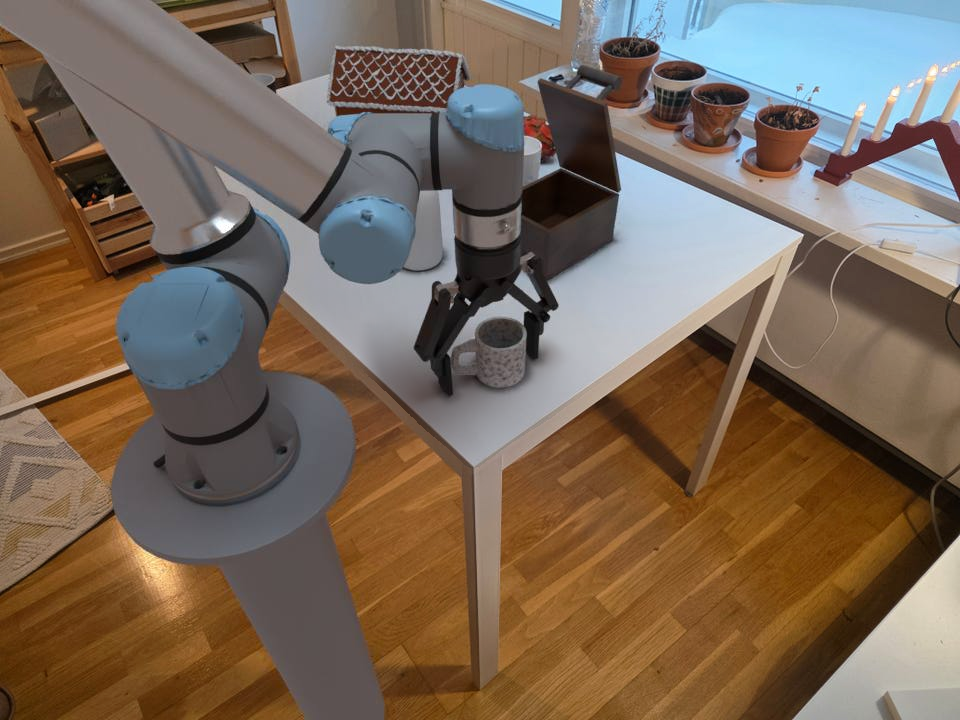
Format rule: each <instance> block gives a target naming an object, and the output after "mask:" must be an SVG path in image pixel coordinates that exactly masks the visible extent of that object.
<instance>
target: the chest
mask: <svg viewBox="0 0 960 720" xmlns="http://www.w3.org/2000/svg"><path fill="white" fill-rule="evenodd" d="M619 199H620V194H619V193H617V192H615V191H613V190H610V189H608V188H606V187H604V186H601V185H599V184H597V183H595V182H593V181H590V180H588V179H586V178H584V177H581V176H579V175H577V174H575V173H572V172H570V171H568V170H566V169H563V168H561V167H559V168H558V169H556V170H554V171H552V172H550V173H548V174H546V175H544V176H542V177H540V178H538V180H536V181H534V182H532V183H530V184H528V185H526V186H524V187H522V212H521V232H520V235H521V257H522V256H523V252H524V251H525V250H526V249H530V250H531V251H532V252H534V253H535V254H536V255H537V256H538V257H539V258H540V259H542V272H543V274H544V276H545V278H546V280H547V281H549V280H550V279H553V278H554V277H555V276H557V275H559V274H560V273H562V272H564V271H565V270H567V269H568V268H570V267H572V266H574V265H575V264H577V263H579V262H580V261H582V260H584V259H585V258H587V257H588V256H590V255H592V254H593V253H595V252H597V251H598V250H600V249H601V248H603V247H605V246H607V245H608V244H610V243H611V242H613V240H614V233H615V225H616V220H617V214H618V207H619V206H618V205H619Z"/></svg>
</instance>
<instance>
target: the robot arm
mask: <svg viewBox="0 0 960 720" xmlns="http://www.w3.org/2000/svg"><path fill="white" fill-rule="evenodd" d="M0 27H1V28H2V29H4V30H6V32H9V33H10V34H11V35H14V36H15V37H16V38H18V39H19V40H21V41H22V42H24V43H25V44H27V45H29V46H30V47H31V48H33V49H35V50H36V51H38V52H39V53H40V54H41V55H42V56H43V58H44V59H45V61H46V62H47V64H48V65H49V67H50V68H51V70H52V71H53V73H54V75H55V76H56V77H57V79H58V81H59V82H60V84H61V85H62V87H63V88H64V90H65V91H66V93H67V94H68V96H69V97H70V99H71V100H72V102H73V103H74V105H75V107H76V108H77V109H78V111H79V113H80V114H81V116H82V118H83V119H84V120H85V121H86V123H87V125H88V127H89V128H90V129H91V131H92V132H93V134H94V135H95V137H96V139H97V140H98V142H99V143H100V145H101V146H102V148H103V149H104V151H105V152H106V154H107V156H108V157H109V159H110V160H111V161H112V163H113V164H114V166H115V167H116V169H117V171H118V172H119V173H120V175H121V177H122V178H123V180H124V181H125V183H126V184H127V186H128V187H129V189H130V190H131V192H132V193H133V194H134V196H135V198H136V200H137V201H138V203H139V204H140V206H141V207H142V209H143V210H144V212H145V213H146V214H147V217H148V218H149V219H150V221H151V223H152V224H153V227H152V230H151V233H150V237H149V245H150V247H151V249H152V250H153V251H154V253H155V255H156V256H157V257H158V259H159V261H160V262H161V264H162V265H163V267H164V268H165V269H166V270H164V271H162V272H159V273H157V274H155V275H153V276H152V278H151V279H152V280H151V281H150V282H141V283H139V284H138V286H136V287H135V288H134V289H133V290H132V291H130V293H129V294H128V295H127V296H126V298H125V299H124V300H123V302H122V303H121V305H120V308H119V310H118V312H117V316H116V320H115V321H116V322H115V332H116V337H117V340H118V343H119V346H120V347H121V350H122V351H121V352H122V355H123V358H124V361H125V363H126V365H127V366H128V368H129V370H130V371H131V373H132V374H133V375H134V376H135V379H136V380H137V383H138V385H139V386H140V387H141V389H142V391H143V393H144V395H145V397H146V398H147V400H148V402H149V404H150V406H151V408H152V410H153V412H154V413H156V415H157V417H158V419H159V421H160V422H161V424H162V426H163V428H164V430H165V454H164V455H163V456H162V457H160V458H159V459H157V460H156V461H155V462H154V463H153V464H154V466H155V467H156V468H159V467H161V466H162V465H164V464H165V466H166V470H167V473H168V475H169V477H170V479H171V481H172V482H173V484H174V486H175V488H176V489H177V490H178V491H179V492H180V493H181V494H182V495H183V496H184V497H186V498H187V499H189V500H191V501H193V502H196V503H199V504H203V505H209V506H227V505H234V504H238V503H242V502H245V501H248V500H251V499H253V498H256V497H258V496H260V495H262V494H264V493H265V492H267V491H269V490H270V489H272V488H273V487H274V486H276V485H277V484H278V483H279V482H280V481H281V480H283V478H284V477H285V476H286V475H287V474H288V473H289V472H290V470H291V469H292V467H293V466H294V464H295V462H296V460H297V458H298V455H299V452H300V447H301V438H300V433H299V430H298V427H297V423H296V421H295V418H294V417H293V415H292V414H291V412H290V411H289V410H288V409H287V408H286V407H285V406H284V405H283V404H282V403H281V402H280V401H279V400H278V399H277V398H276V397H275V396H274V395H273V394H272V393H271V392H270V391H269V389H268V387H267V384H266V381H265V378H264V375H263V372H262V371H263V370H262V366H261V362H260V359H259V356H260V349H261V347H262V343H263V341H264V339H265V335H266V333H267V330H268V328H269V326H270V322H271V320H272V319H273V316H274V313H275V311H276V308H277V306H278V304H279V301H280V299H281V297H282V294H283V293H284V291H285V290H284V289H285V287H286V286H287V283H288V280H289V273H290V267H291V266H290V265H291V250H290V245H289V242H288V238H287V237H286V235H285V232H284V231H283V230H282V228H281V226H279V224H278V223H277V222H276V221H275V220H274V219H273V218H272V217H270V215H268V214H262V212H260V210H259V209H258V208H256V207H255V206H253V205H252V203H251V202H250V200H249V199H248V197H246V196H245V195H243V194H241V193H237V192H234V191H231V190H229V189H228V188H227V186H226V185H225V183H224V181H223V179H222V177H221V175H220V173H219V171H218V170H217V169H219V170H221V172H224V173H225V174H227V175H228V176H229V177H231V178H233V179H235V180H236V181H237V182H239V183H240V184H242V185H243V186H245V187H246V188H248V189H250V190H251V191H253V192H254V193H256V194H257V195H259V196H261V197H262V198H264V200H266V201H268V202H269V203H271V204H273V205H274V206H275V207H277V208H279V209H281V210H282V211H283V212H285V213H287V214H288V215H289V216H291V217H292V218H294V219H296V220H297V221H299V222H300V223H302V224H303V225H304V226H306V227H307V228H308V229H310V230H312V231H313V232H315V233H317V234H318V246H319V252H320V255H321V256H322V258H323V260H324V261H325V263H326V264H327V266H329V269H330V270H331V271H332V272H333V273H334V274H336V275H337V276H339V277H341V279H344V280H346V281H347V282H351V283H356V284H362V285H372V284H373V285H375V284H379V283H384V282H385V281H388V280H390V279H392V278H394V277H395V276H396V275H397V274H398V273H400V272H401V271H402V269H403V268H404V265H405V263H406V261H407V259H408V256H409V252H410V249H411V246H412V242H413V240H414V238H415V233H416V226H415V221H416V213H417V204H418V201H419V195H420V191H436V190H438V191H444V190H448V191H449V190H451V198H452V200H451V201H452V220H453V233H454V241H453V242H454V243H453V244H454V255H455V256H454V260H455V261H454V262H455V265H456V266H455V268H456V274H455V275H456V276H455V278H454V280H453V281H450V282H447V283H442V282H441V281H440V280H436V281H434V282H433V283H432V284H431V299H430V301H429V304H428V307H427V310H426V312H425V315H424V318H423V320H422V322H421V327H420V328H419V331H418V334H417V336H416V339H415V342H414V345H413V351H414V352H415V353H416V354H417V356H418V357H419V358H420V359H421V361H422V362H423V363H427V362H429V364H430V370H431V372H432V373H433V374H434V375H435V376H436V378H437V385H439V386H440V388H441V389H442V390H443V392H444V393H445V394H446V396H447V397H449V396H450V397H451V396H452V395H454V386H453V373H452V371H453V369H452V364H451V355H449V353H448V352H449V351H450V350H451V347H452V346H453V344H454V343H455V341H456V339H457V338H458V337H459V335H460V334H461V332H462V330H463V329H464V327H465V326H466V324H467V323H468V321H469V320H470V318H473V317H475V316H476V315H477V313H478V312H479V310H480V308H481V309H483V308H485V307H487V306H489V305H491V304H492V303H497V302H501V301H503V300H504V298H505V297H506V296H507V295H509V296H511V297H512V298H513V299H514V300H515V301H517V302H518V303H519V304H521V305H522V306H523V307H524V308H526V309H527V310H526V311H524V312H523V326H524V327H525V329H526V332H527V335H526V354H527V355H528V356H529V357H530V358H531V359H532V360H533V361H535V360H536V359H538V358H539V347H540V336H541V335H543V333H544V330H545V323H548V322H549V321H550V320H551V315H550V314H549V312H550V311H551V312H555V311H556V310H558V309H559V307H560V306H559V303H558V300H557V298H556V296H555V294H554V293H553V290H552V289H551V286H550V284H549V283H548V280H546V278H545V276H544V274H543V272H542V259H540V258H539V257H538V256H537V255H536V254H535V253H534V252H532V251H531V250H530V249H526V250H525V251H524V252H523V256H522V257H521V235H520V232H521V212H522V185H523V163H524V145H525V143H524V116H525V113H524V110H525V109H524V104H523V102H522V99H521V97H520V96H519V95H518V94H517V93H516V92H515V91H513V90H511V89H510V88H508V87H505V86H503V85H497V84H487V83H482V84H481V83H479V84H475V85H473V86H464V87H463V88H460V89H458V90H456V91H455V92H453V93H452V94H451V96H450V97H449V99H448V106H447V108H446V112H440V113H371V112H363V113H360V114H352V115H341V116H337V117H336V116H335V117H334V118H333V119H331V120H330V123H329V124H328V128H327V130H326V129H324V128H323V127H322V126H320V125H319V124H317V123H316V121H313V119H311V118H310V117H308V116H307V115H306V114H304V113H303V112H302V111H300V110H299V109H298V108H296V107H295V106H293V105H292V104H291V103H290V102H288V101H286V100H285V98H283V97H281V96H280V95H279V94H276V93H277V92H276V93H275V92H273V91H272V90H271V89H269V88H268V87H267V86H265V85H264V84H263V83H261V82H260V81H258V80H257V79H256V78H254V77H253V76H252V75H250V74H251V73H249V72H248V71H247V70H245V69H244V68H242V67H241V66H240V65H239V64H237V63H236V62H234V61H233V60H232V59H231V58H229V57H228V56H227V55H225V54H223V52H221V51H220V50H218V49H217V48H216V47H214V46H213V45H211V44H210V43H209V42H208V41H207V40H205V39H203V38H202V37H201V36H199V35H198V34H197V33H196V32H194V31H193V30H191V28H189V27H188V26H186V25H185V24H184V23H182V22H181V21H179V20H178V19H177V18H175V17H174V16H173V15H172V14H171V13H168V12H167V11H166V10H165V9H163V8H162V7H161V6H159V5H158V4H157V3H155V2H154V1H152V0H0ZM522 271H523V272H524V273H526V275H527V277H528V279H529V281H530V283H531V285H532V286H533V288H534V290H535V292H536V294H537V295H538V297H539V299H540V300H539V301H536V300H534V299H533V298H532V297H531V296H529V295H528V294H527V293H526V292H525V291H523V290H522V289H521V288H520V287H519V286H518V285H516V284H515V282H516V281H517V280H518V277H519V276H520V274H521V272H522ZM466 300H467V301H468V302H469V304H468V302H467V301H466ZM451 304H452V305H451Z"/></svg>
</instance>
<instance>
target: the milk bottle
mask: <svg viewBox="0 0 960 720" xmlns="http://www.w3.org/2000/svg"><path fill="white" fill-rule="evenodd" d="M441 216H442V215H441V203H440V195H439V190H436V191H420V195H419V201H418V204H417V213H416V221H415V226H416V233H415V238H414V240H413V242H412V246H411V249H410V252H409V256H408V259H407V261H406V263H405V265H404V267H403V268H404V269H406V270H409V271H410V270H411V271H425V270H430V269H432V268H434V267H436V266H438V265H439V264H440V263H441V261H442V259H443V256H444V253H443V252H444V251H443V250H444V248H443V234H442V233H443V232H442V230H443V229H442V217H441Z"/></svg>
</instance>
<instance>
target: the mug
mask: <svg viewBox="0 0 960 720" xmlns="http://www.w3.org/2000/svg"><path fill="white" fill-rule="evenodd" d="M526 335H527V332H526V329H525V327H524V323H522V322H520V320H517V319H515V318H512V317H510V316H492V317H489V318H485V319H484V320H482V321H481V322H480V323H479V324H478V325H477V326H476V327H475V330H474V338H471V339H468V340H467V341H464V342H462V343H460V344H458V345H456V346H454V347H453V348H452V351H451V355H450V357H451V370H452V371H453V372H454V374H455V375H465V376H467V375H468V376H477V378H478V380H479V381H480V382H481V383H483V385H486V386H488V387H490V388H497V389H498V388H499V389H500V388H501V389H504V388H509V387H512V386H513V387H514V386H515V385H517V384H519V382H521V381H522V380H523V378H524V376H525V374H526V373H525V372H526V356H527V355H526V354H527V353H526ZM463 353H474V355H475V356H474V358H475V359H474V360H475V361H474V362H470V363H466V364H465V365H460V355H461V354H463Z"/></svg>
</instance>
